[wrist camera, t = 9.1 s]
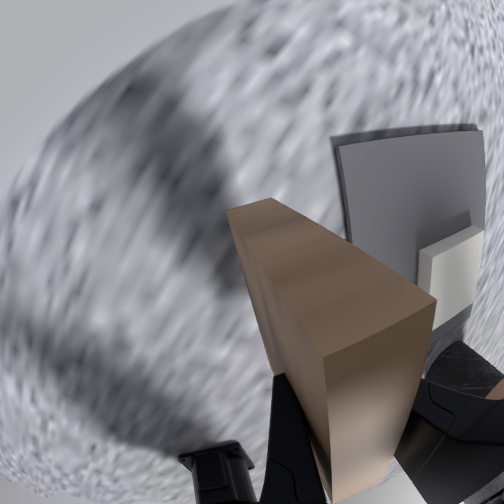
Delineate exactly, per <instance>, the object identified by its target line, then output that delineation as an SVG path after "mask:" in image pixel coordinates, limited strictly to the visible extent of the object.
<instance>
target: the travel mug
mask: <svg viewBox="0 0 504 504" xmlns="http://www.w3.org/2000/svg"><path fill="white" fill-rule="evenodd" d="M425 380H427V381H430V382H432V383H435V384H437V385H440V386H443V387H446V388H448V389H451V390H455V391H458V392H462V393H466V394H470V395H474V396H478V397H482V398H487V399H494V400H498V399H504V374H502V373H501V372H500V371H499V370H498V369H496V368H495V367H494V366H493V365H491V364H490V363H489V362H488V361H487V360H485V359H484V358H483V357H482V356H480V355H479V354H478V353H477V352H475V351H474V350H473V349H471V348H470V347H469V346H467V345H466V344H465V343H463V342H462V341H457V342H455V343H453V344H451V345H450V346H449V347H448V348H446V349H445V350H444V351H443V352H442V353H441V355H440V356H439V357H438V358H437V359H436V361H435V362H434V363H433V365H432V366H431V368H430V370H429V371H428V373H427V376H426V379H425Z"/></svg>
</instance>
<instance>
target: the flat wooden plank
mask: <svg viewBox="0 0 504 504" xmlns="http://www.w3.org/2000/svg"><path fill="white" fill-rule="evenodd" d="M226 214H227V218H228V221H229V225H230V229H231V232H232V236H233V239H234V243H235V246H236V250H237V253H238V257H239V261H240V264H241V268H242V271H243V275H244V278H245V282H246V285H247V289H248V292H249V295H250V299H251V302H252V306H253V309H254V313H255V316H256V319H257V323H258V326H259V330H260V333H261V336H262V340H263V343H264V347H265V350H266V353H267V357H268V360H269V363H270V366H271V369H272V371H273V373H274V376H275V375H277V374H280V373H285V375H286V377H287V379H288V381H289V383H290V385H291V387H292V389H293V390H294V392H295V394H296V396H297V398H298V400H299V403H300V406H301V410H302V414H303V417H304V421H305V424H306V428H307V431H308V435H309V438H310V442H311V446H312V449H313V453H314V456H315V460H316V463H317V467H318V471H319V474H320V478H321V481H322V484H323V486H324V488H325V490H326V492H327V494H328V497H329V499H330V501H331V503H332V504H336V503H339V502H341V501H343V500H346V499H348V498H350V497H352V496H355V495H357V494H359V493H361V492H363V491H365V490H367V489H369V488H371V487H373V486H375V485H377V484H379V483H380V482H381V480H382V478H383V476H384V474H385V472H386V470H387V468H388V466H389V464H390V462H391V460H392V457H393V455H394V453H395V451H396V448H397V446H398V444H399V441H400V439H401V436H402V434H403V431H404V429H405V426H406V423H407V421H408V418H409V415H410V412H411V409H412V406H413V403H414V400H415V397H416V394H417V390H418V387H419V384H420V380H421V377H422V373H423V369H424V365H425V361H426V357H427V353H428V348H429V344H430V339H431V334H432V329H433V323H434V317H435V311H436V305H437V299H435V298H434V297H433V296H431V295H430V294H428V293H427V292H425V291H424V290H422V289H421V288H419V287H418V286H417V285H415V284H414V283H412V282H411V281H409V280H408V279H406V278H405V277H403V276H402V275H400V274H398V273H397V272H395V271H394V270H392V269H391V268H389V267H388V266H386V265H385V264H383V263H381V262H380V261H378V260H377V259H375V258H374V257H372V256H370V255H369V254H367V253H366V252H364V251H362V250H361V249H359V248H358V247H356V246H354V245H353V244H351V243H349V242H348V241H346V240H344V239H343V238H341V237H339V236H338V235H336V234H334V233H333V232H331V231H329V230H328V229H326V228H324V227H323V226H321V225H319V224H317V223H316V222H314V221H312V220H310V219H309V218H307V217H305V216H303V215H302V214H300V213H298V212H296V211H295V210H293V209H291V208H289V207H287V206H286V205H284V204H282V203H280V202H278V201H277V200H275V199H273V198H268V199H264V200H261V201H257V202H254V203H250V204H247V205H243V206H240V207H236V208H233V209H230V210H226Z"/></svg>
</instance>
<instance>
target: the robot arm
mask: <svg viewBox="0 0 504 504" xmlns="http://www.w3.org/2000/svg"><path fill="white" fill-rule="evenodd" d="M394 457H395V458H396V460H397V461H398V462H399V464H400V465H401V467H402V468H403V470H404V471H405V472H406V474H407V475H408V477H409V478H410V480H411V481H412V482H413V484H414V486H415V487H416V488H417V490H418V491H419V493H420V494H421V495H422V497H423V498H424V500H425V501H426V503H427V504H459V503H461V502H462V501H463V502H464V504H504V399H498V400H494V399H487V398H482V397H478V396H474V395H470V394H466V393H462V392H458V391H455V390H451V389H448V388H446V387H443V386H440V385H437V384H435V383H432V382H430V381H427V380H425V379H423V378H421V380H420V384H419V387H418V390H417V394H416V397H415V400H414V403H413V406H412V409H411V412H410V415H409V418H408V421H407V423H406V426H405V429H404V431H403V434H402V436H401V439H400V441H399V444H398V446H397V448H396V451H395V453H394ZM178 460H179V462H180V463H182V464H183V465H184V466H185V467H186V468H187V469H188V470H190V471H191V472H192V478H193V485H194V492H195V498H196V504H328V503H327V499H326V496H325V492H324V489H323V485H322V481H321V478H320V474H319V471H318V467H317V463H316V460H315V456H314V453H313V449H312V446H311V442H310V438H309V435H308V431H307V428H306V424H305V421H304V417H303V414H302V410H301V406H300V403H299V400H298V398H297V396H296V394H295V392H294V390H293V389H292V387H291V385H290V383H289V381H288V379H287V377H286V375H285V373H280V374H277V375H275V376H273V385H272V400H271V414H270V428H269V440H268V452H267V462H266V471H265V479H264V484H263V489H262V493H261V497H260V501H259V502H257V499H256V496H255V492H254V489H253V486H252V482H251V479H250V475H249V471H248V470H251V469H253V468H255V466H254V464H253V462H252V461H251V459H250V458H249V456H248V455H247V454H246V452H245V451H244V449H243V448H242V446H241V445H240V444H233V445H229V446H225V447H220V448H216V449H211V450H206V451H201V452H196V453H191V454H185V455H180V456H178Z"/></svg>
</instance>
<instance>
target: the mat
mask: <svg viewBox="0 0 504 504" xmlns="http://www.w3.org/2000/svg"><path fill="white" fill-rule="evenodd" d="M335 151H336V156H337V162H338V168H339V173H340V180H341V186H342V193H343V200H344V207H345V214H346V223H347V231H348V240H349V243H351V244H353V245H354V246H356V247H358V248H359V249H361V250H362V251H364V252H366V253H367V254H369V255H370V256H372V257H374V258H375V259H377V260H378V261H380V262H381V263H383V264H385V265H386V266H388V267H389V268H391V269H392V270H394V271H395V272H397V273H398V274H400V275H402V276H403V277H405V278H406V279H408V280H409V281H411V282H412V283H414V284H415V285H417V283H418V267H419V250H421V249H423V248H425V247H427V246H430V245H432V244H434V243H436V242H438V241H441V240H443V239H445V238H447V237H449V236H451V235H453V234H455V233H457V232H459V231H462V230H464V229H466V228H468V227H470V226H472V225H473V226H475V227H477V228H480V229H482V230H484V225H485V206H486V171H485V152H484V140H483V131H482V130H469V131H451V132H438V133H427V134H417V135H408V136H399V137H392V138H384V139H377V140H370V141H364V142H357V143H351V144H345V145H340V146H335ZM472 305H473V303H472V304H470V305H469V306H468V307H466V308H465V309H463V310H462V311H461V312H459V313H458V314H456V315H455V316H454V317H452V318H451V319H449V320H448V321H446V322H445V323H443V324H442V325H440V326H439V327H437V328H436V329H434V330H433V331H432V334H431V339H430V344H429V345H431V344H433V343H434V342H436V341H437V340H439V339H440V338H441V337H443V336H444V335H446V334H447V333H449V332H450V331H452V330H453V329H454V328H456V327H457V326H458V325H460V324H461V323H462V322H464V321H465V320H466V319H468V318H469V317H470V314H471V309H472Z"/></svg>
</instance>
